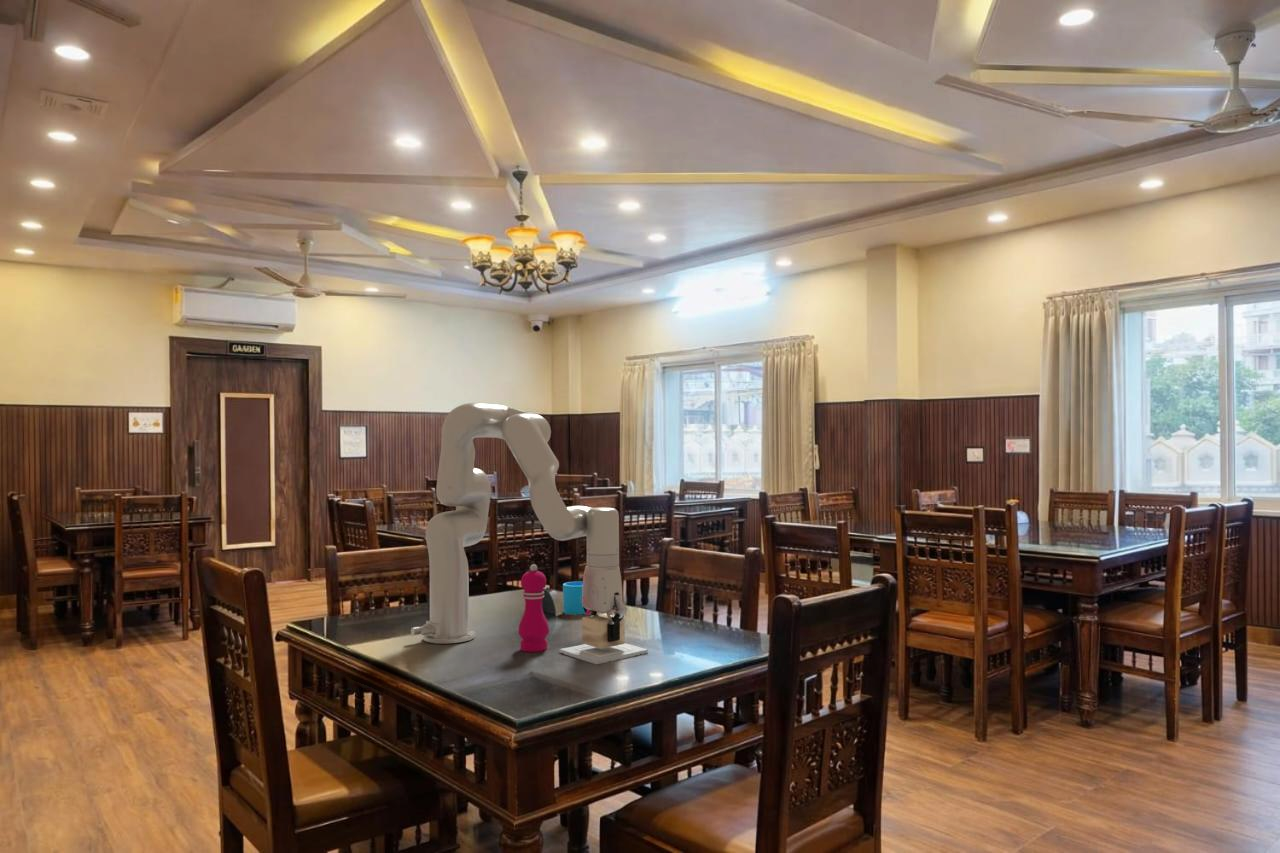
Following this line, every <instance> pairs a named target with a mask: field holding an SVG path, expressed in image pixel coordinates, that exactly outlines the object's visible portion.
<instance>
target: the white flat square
mask: <svg viewBox="0 0 1280 853" xmlns="http://www.w3.org/2000/svg"><path fill="white" fill-rule="evenodd" d="M559 653H560V654H562V653H563V655H566V656H569V657H571V658H575V659H578V660H580V661H584V662H587V663H590V664H593V665H600V664H604V663H609V661H610V662H613V661H618V659H619V660H623V659H627V658H632V657H636V655H637V656H641V655H646V654H649V649H647V648H644V647H639V646H637V645H633V644H629V643H626V642H625V644H622V645H617V646H612V647H607V648H602V649H600V648H597V647H593V646H590V645H587V644H583V643H582V644H579V645H574V646H569V647H564V648H559ZM645 653H646V654H645ZM640 654H641V655H640Z"/></svg>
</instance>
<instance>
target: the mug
mask: <svg viewBox="0 0 1280 853" xmlns="http://www.w3.org/2000/svg"><path fill="white" fill-rule="evenodd" d="M582 588H583V581H567V582H564V583H563V584H562V613H563V612H564V613H567V614H586V613H585V611H584V609H583V605H582V603H581V598H582ZM564 613H563V614H564ZM567 614H566V615H567Z"/></svg>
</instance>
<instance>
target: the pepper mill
mask: <svg viewBox="0 0 1280 853" xmlns="http://www.w3.org/2000/svg"><path fill="white" fill-rule="evenodd" d="M546 585H547V578H546V575H545V574H544V573H543V572H542V571H539V570H538V565H537V564H535V563H533V564H531V565H530V566H529V571H526V572H525V573H524V574H523V575H522V576H521V579H520V586H521V588H522V589H523V592H522V594H523V595H522V597H523V599H524V604H525V606H524V607H525V608H524V612H523V615H522V617H521V620H520V622H519V624H518V625H519V626H518V635H519V637H520V638H521V639H522V640H521V641H520V650H521V651H522V652H526V653H538V652H543V650H544V651H546V650H547V649H548V641H547V639H546V638H547V636H549V633H550V627H549V623H548V620H547V617H546V615H545V613H544V611H543V599H544V597H545V591H544V589H545V587H546Z"/></svg>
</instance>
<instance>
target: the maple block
mask: <svg viewBox="0 0 1280 853" xmlns="http://www.w3.org/2000/svg"><path fill="white" fill-rule="evenodd" d="M614 615H615V614H612V616H613V617H614ZM581 619H582V620H581V625H582V626H581V630H582V631H581V634H582V638H581V640H582V641H581V643H582V645H583V644H587V645H590V646H593V647H597V648H600V649H602V648H607V647H612V646H617V645H622V644H625V643H626V642H625V641H626V640H625V638H626V637H625V636H626V635H625V634H626V633H625V631H626V628H625V624H626V623H625V622H626V620H625V617H623V619H622V622H621V623H620V640H618V641H613V642H608V629H607V624H610V623H609V620H608V617H607V614H606V613H598V615H593V616H587V617H585V616H583V617H581Z"/></svg>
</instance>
